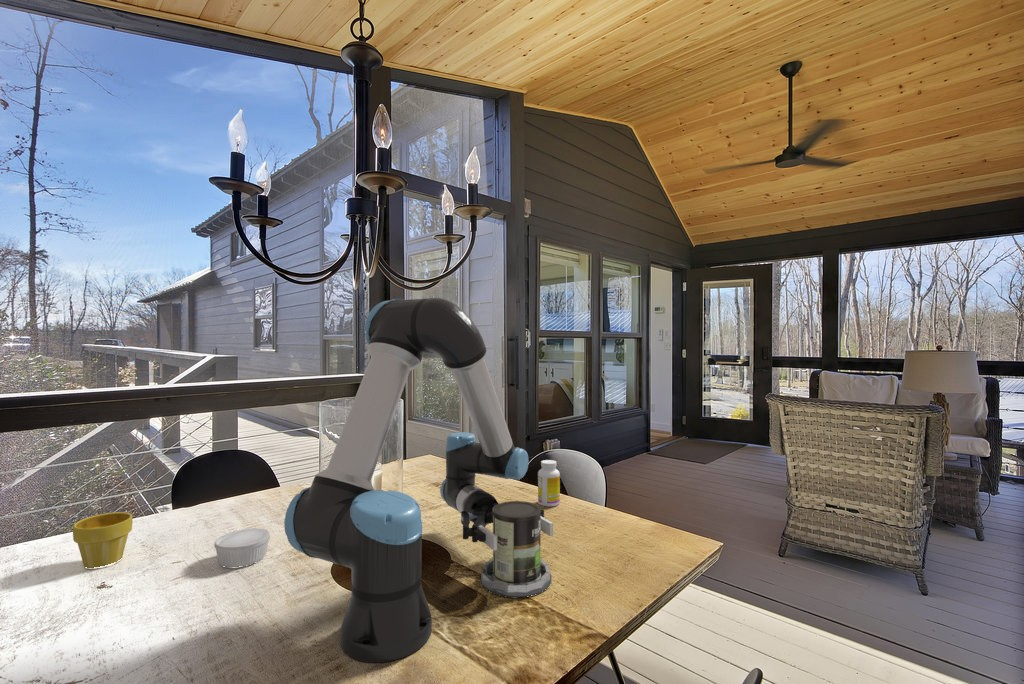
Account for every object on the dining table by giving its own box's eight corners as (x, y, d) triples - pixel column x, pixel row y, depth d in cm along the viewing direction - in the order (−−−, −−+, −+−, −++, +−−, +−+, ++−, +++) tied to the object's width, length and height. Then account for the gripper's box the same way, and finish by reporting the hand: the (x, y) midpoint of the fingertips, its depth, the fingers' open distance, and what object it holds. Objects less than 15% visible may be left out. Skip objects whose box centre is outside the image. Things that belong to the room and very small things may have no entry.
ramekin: (224, 551, 117) (224, 529, 117) (275, 547, 120) (275, 525, 120) (206, 574, 107) (206, 549, 107) (263, 568, 109) (263, 544, 109)
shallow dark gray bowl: (503, 605, 94) (503, 593, 94) (469, 573, 107) (469, 562, 107) (565, 585, 102) (565, 574, 101) (526, 557, 114) (526, 547, 114)
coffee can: (544, 566, 108) (544, 502, 108) (537, 590, 98) (537, 519, 98) (498, 562, 110) (498, 499, 110) (486, 584, 100) (486, 515, 100)
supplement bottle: (563, 502, 152) (563, 460, 152) (553, 508, 146) (553, 465, 146) (544, 498, 156) (544, 458, 155) (533, 504, 150) (534, 462, 150)
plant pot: (137, 562, 112) (136, 519, 112) (76, 578, 104) (76, 532, 104) (128, 548, 119) (127, 508, 119) (70, 563, 111) (70, 520, 111)
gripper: (521, 511, 126) (572, 541, 108) (428, 531, 113) (469, 569, 95) (521, 482, 126) (573, 507, 107) (428, 498, 113) (469, 530, 95)
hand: (524, 536), depth 101 cm, fingers open, 13 cm apart
